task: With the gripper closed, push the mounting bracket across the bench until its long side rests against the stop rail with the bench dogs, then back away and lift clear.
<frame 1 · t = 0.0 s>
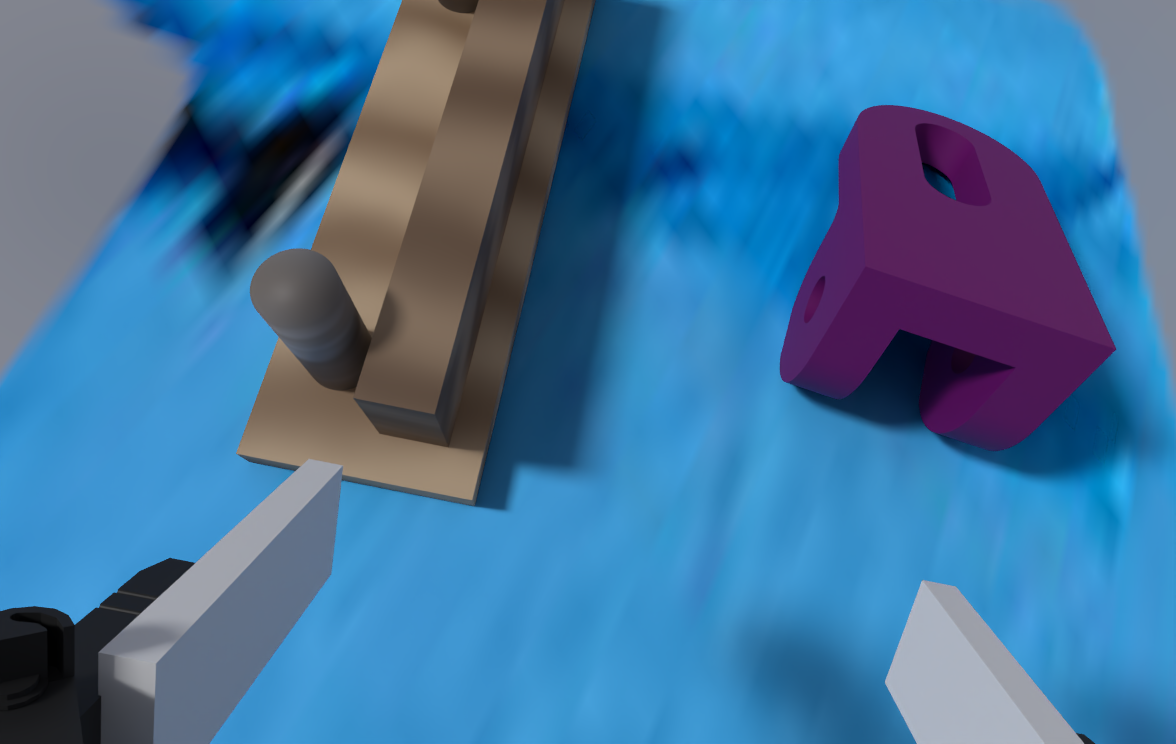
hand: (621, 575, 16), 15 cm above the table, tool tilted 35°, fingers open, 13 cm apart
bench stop: (519, 194, 37), on the table
mounting bracket: (891, 275, 38), on the table
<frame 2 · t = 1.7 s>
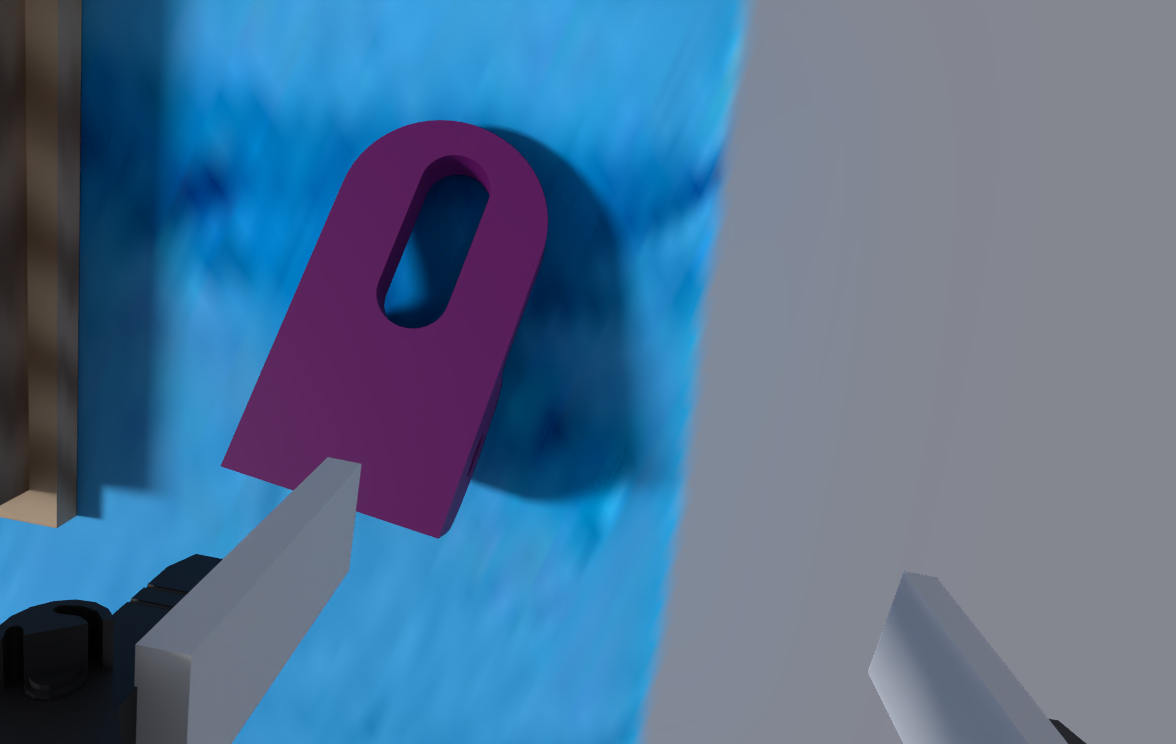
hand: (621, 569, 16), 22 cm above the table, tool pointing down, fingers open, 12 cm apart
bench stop: (50, 231, 37), on the table
mounting bracket: (434, 306, 37), on the table
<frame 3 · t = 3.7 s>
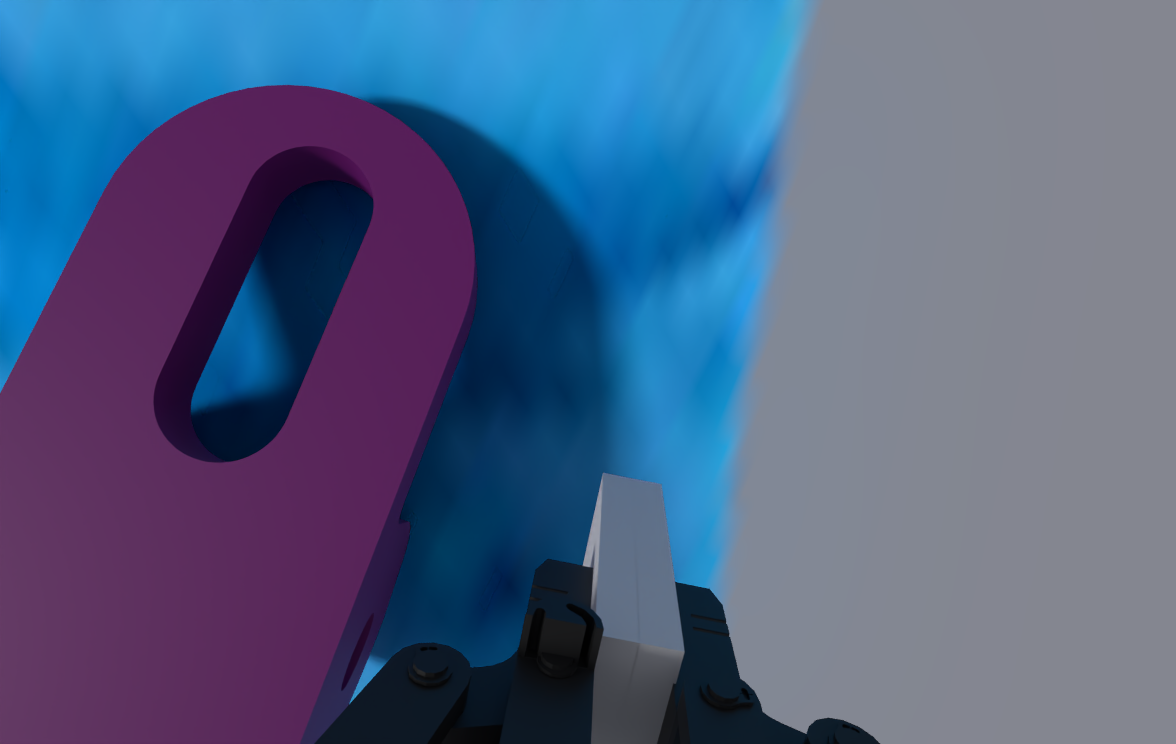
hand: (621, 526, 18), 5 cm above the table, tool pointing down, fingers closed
mounting bracket: (305, 391, 23), on the table
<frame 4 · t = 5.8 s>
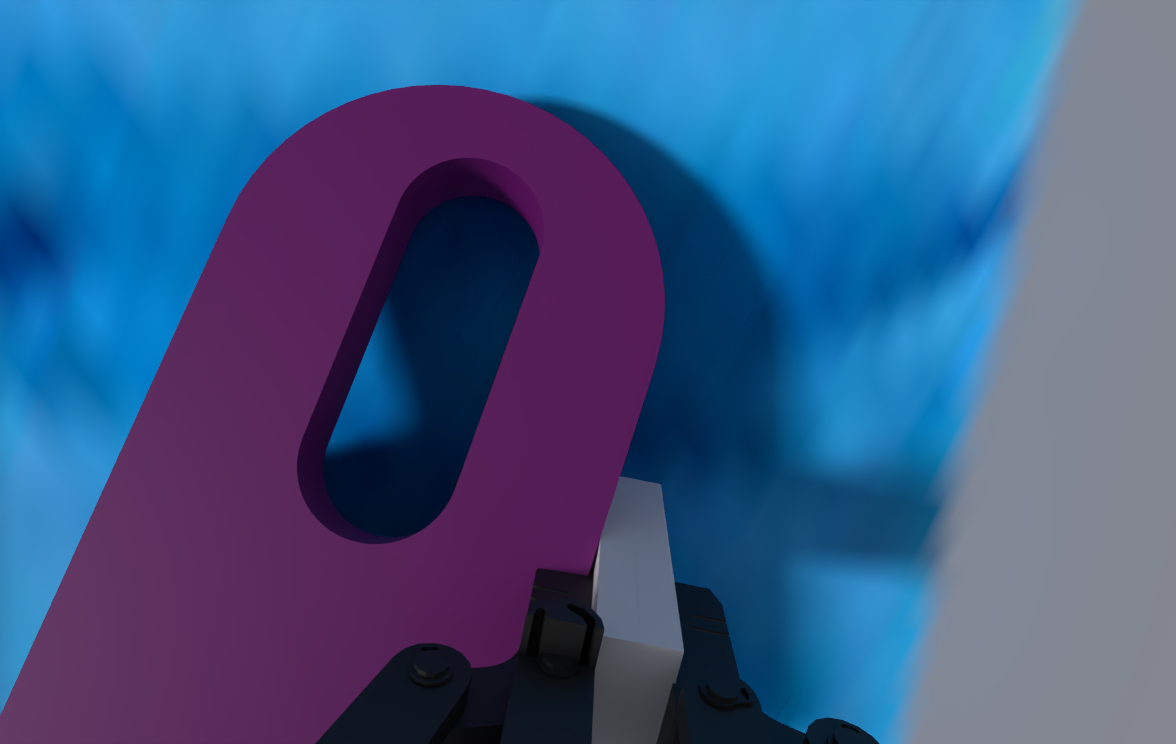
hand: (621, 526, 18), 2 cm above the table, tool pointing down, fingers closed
mounting bracket: (428, 436, 20), on the table, touching gripper
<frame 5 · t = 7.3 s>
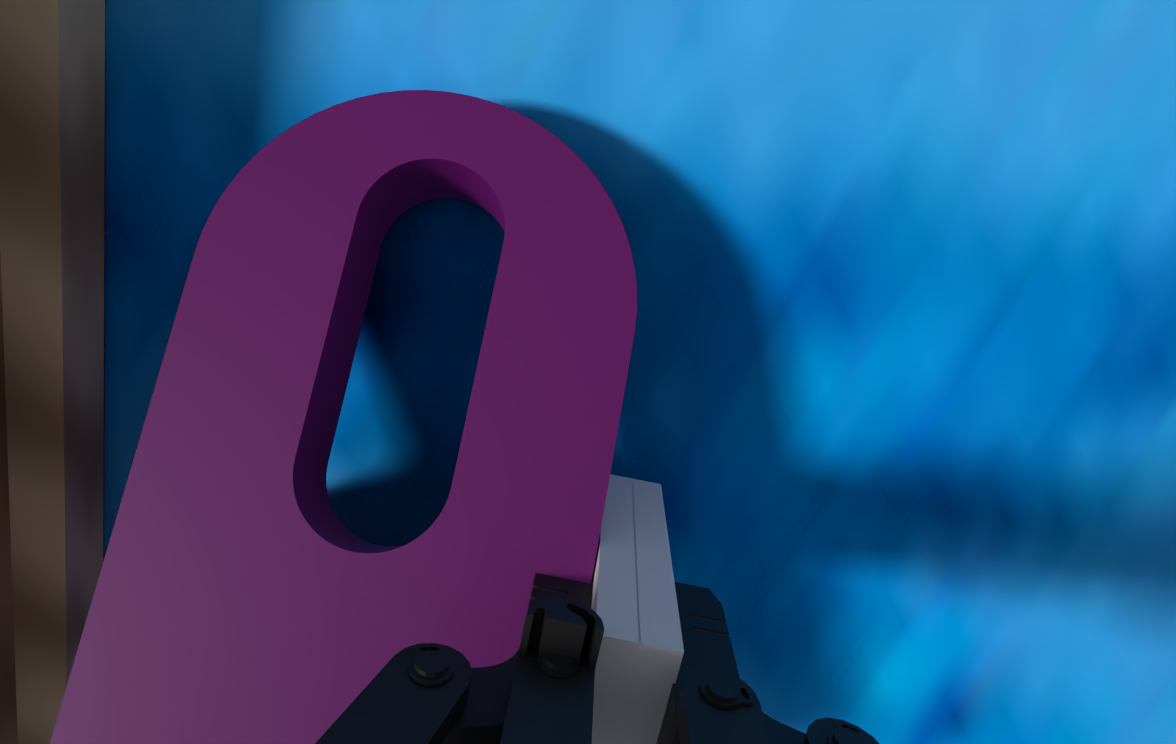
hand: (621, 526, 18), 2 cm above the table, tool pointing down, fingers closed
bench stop: (50, 387, 20), on the table
mounting bracket: (434, 445, 20), on the table
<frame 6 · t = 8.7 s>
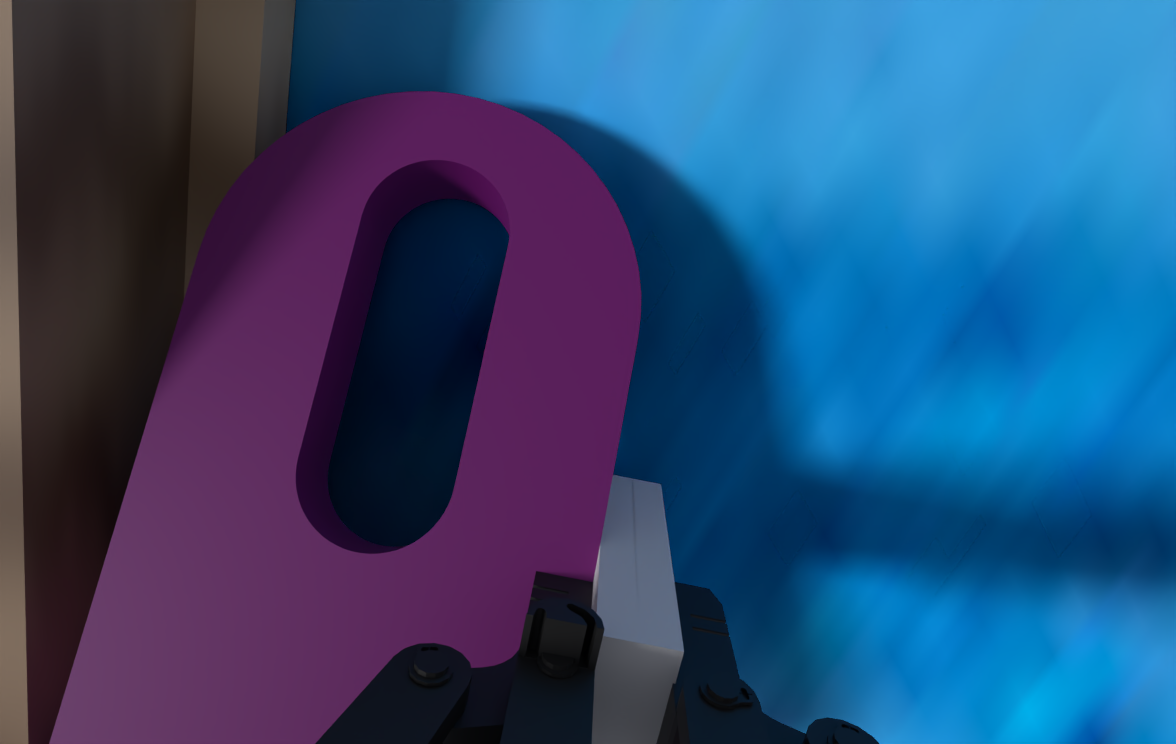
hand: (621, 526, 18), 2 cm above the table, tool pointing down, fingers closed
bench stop: (210, 415, 20), on the table
mounting bracket: (434, 445, 20), on the table, touching gripper
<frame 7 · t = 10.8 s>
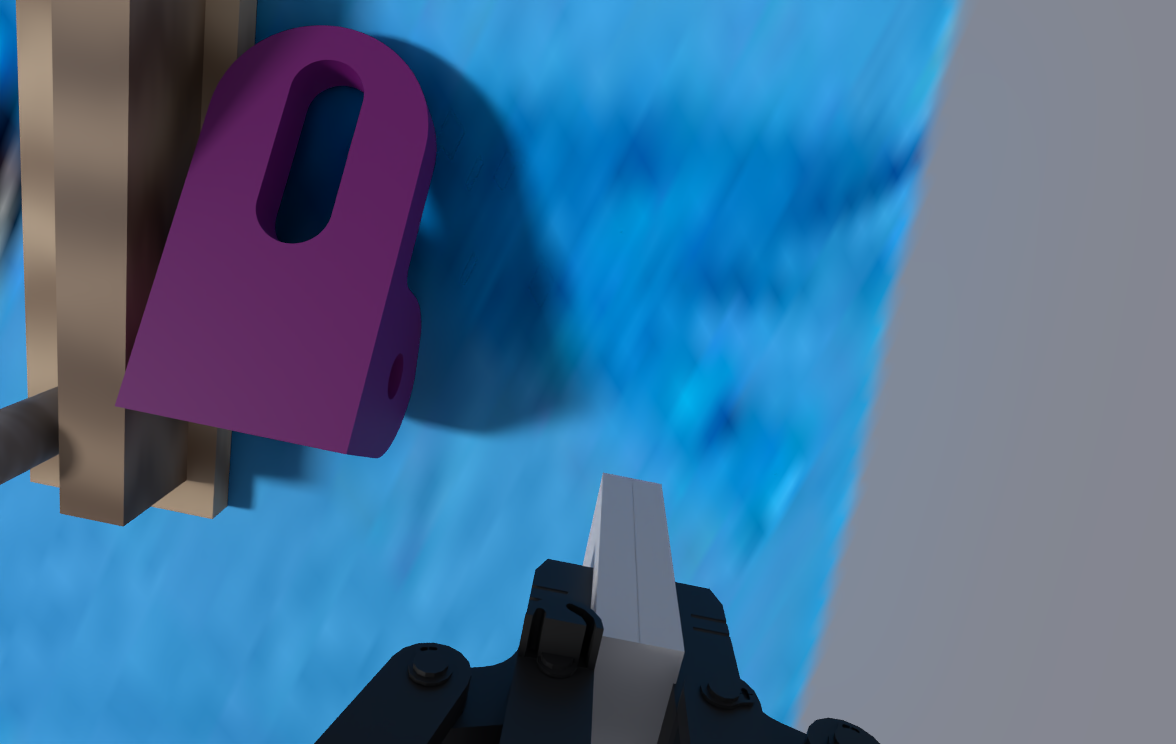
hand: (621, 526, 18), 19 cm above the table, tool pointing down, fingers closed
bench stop: (214, 215, 36), on the table
mounting bracket: (342, 233, 36), on the table
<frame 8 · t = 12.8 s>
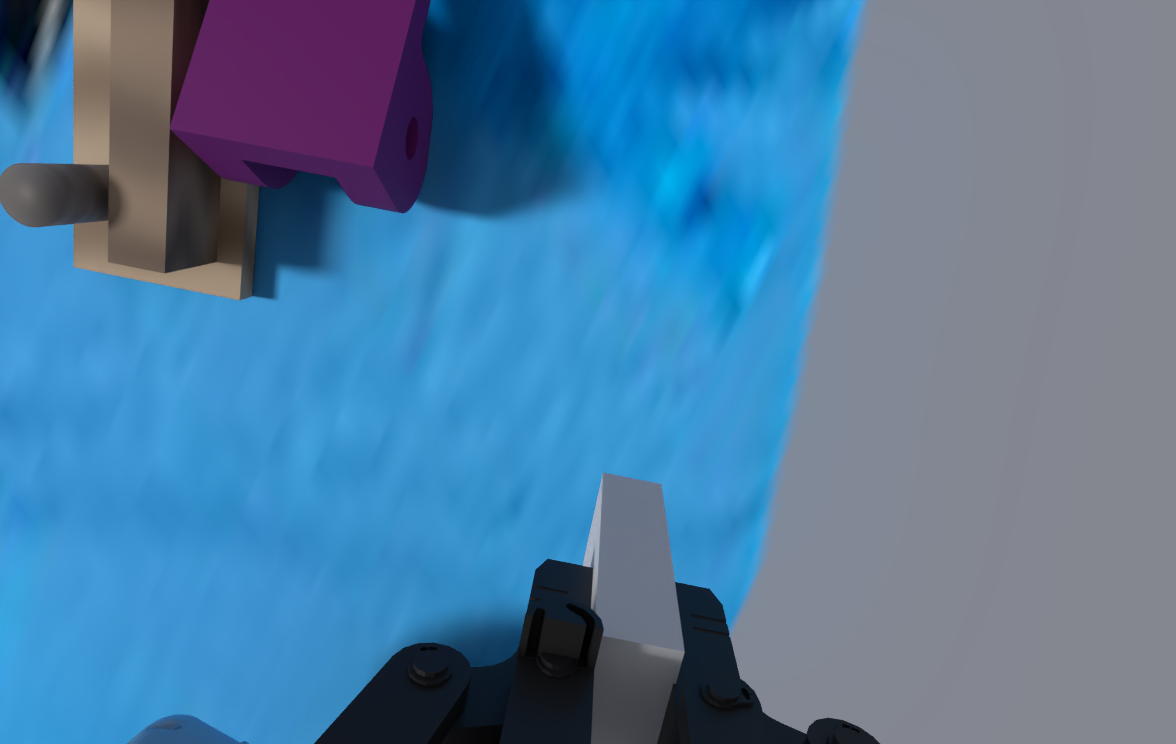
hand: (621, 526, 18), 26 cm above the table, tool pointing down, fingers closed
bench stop: (244, 11, 40), on the table
mounting bracket: (360, 27, 40), on the table
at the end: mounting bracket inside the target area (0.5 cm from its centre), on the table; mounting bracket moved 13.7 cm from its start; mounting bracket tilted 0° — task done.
